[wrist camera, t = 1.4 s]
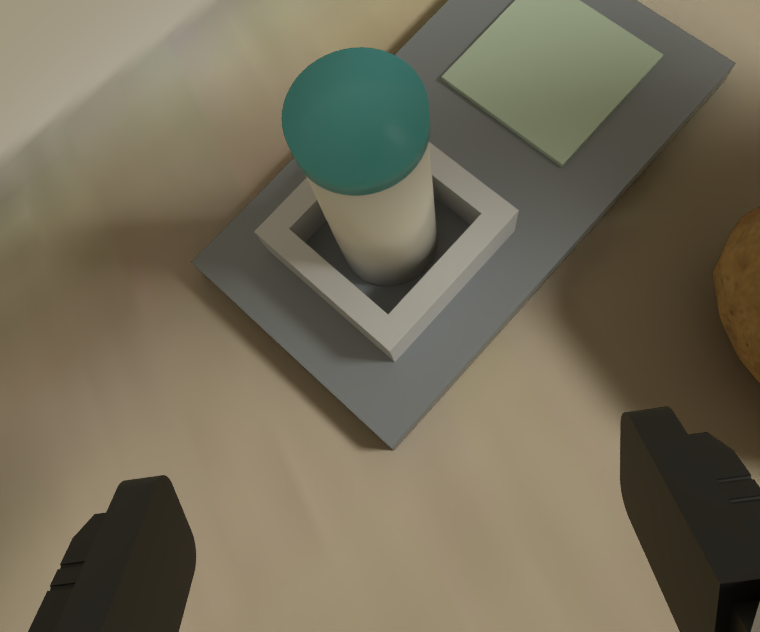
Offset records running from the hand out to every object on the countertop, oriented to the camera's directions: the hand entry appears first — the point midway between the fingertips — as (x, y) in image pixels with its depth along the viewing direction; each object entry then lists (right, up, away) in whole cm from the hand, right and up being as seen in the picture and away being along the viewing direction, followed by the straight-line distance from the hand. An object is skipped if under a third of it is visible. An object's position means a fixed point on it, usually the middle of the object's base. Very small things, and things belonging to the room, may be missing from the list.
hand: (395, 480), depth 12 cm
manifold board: (+4, +10, +25) cm, 27 cm away
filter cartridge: (0, +7, +23) cm, 24 cm away
